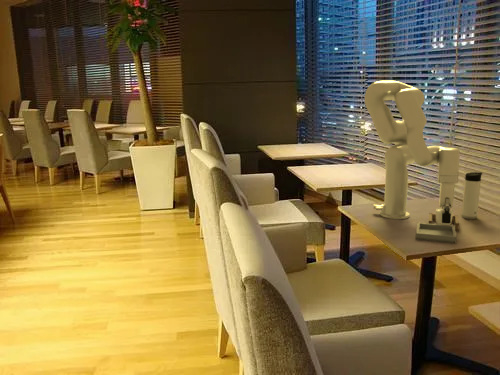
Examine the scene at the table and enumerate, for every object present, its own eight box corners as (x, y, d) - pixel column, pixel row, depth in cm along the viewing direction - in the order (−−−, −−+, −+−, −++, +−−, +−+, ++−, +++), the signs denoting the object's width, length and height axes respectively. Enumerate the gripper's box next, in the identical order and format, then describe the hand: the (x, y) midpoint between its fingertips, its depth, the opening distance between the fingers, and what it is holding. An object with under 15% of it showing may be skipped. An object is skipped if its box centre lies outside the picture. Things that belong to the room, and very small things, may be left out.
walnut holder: (428, 227, 195) (428, 220, 194) (428, 219, 206) (429, 213, 205) (458, 230, 191) (459, 223, 190) (457, 222, 202) (457, 215, 201)
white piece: (431, 224, 199) (432, 208, 198) (447, 223, 200) (448, 207, 198) (438, 229, 192) (440, 212, 191) (455, 229, 193) (456, 212, 191)
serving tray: (415, 239, 181) (416, 233, 181) (416, 228, 194) (417, 222, 194) (455, 243, 176) (456, 237, 176) (454, 232, 189) (454, 226, 189)
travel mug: (479, 219, 205) (484, 174, 200) (463, 218, 206) (467, 173, 202) (475, 215, 211) (480, 171, 206) (459, 214, 212) (464, 170, 208)
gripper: (437, 174, 200) (435, 213, 204) (438, 182, 185) (435, 225, 188) (457, 175, 198) (454, 215, 201) (459, 183, 182) (456, 226, 186)
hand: (445, 219), depth 195 cm, fingers open, 9 cm apart
